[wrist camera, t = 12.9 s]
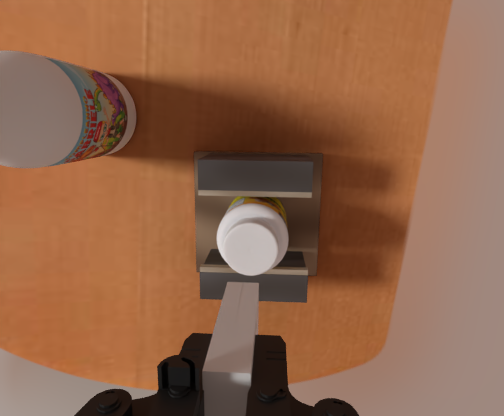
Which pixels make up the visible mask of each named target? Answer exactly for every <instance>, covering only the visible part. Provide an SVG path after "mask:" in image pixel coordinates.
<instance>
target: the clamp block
mask: <svg viewBox="0 0 504 416" xmlns="http://www.w3.org/2000/svg"><path fill="white" fill-rule="evenodd" d="M322 163H323V154H322V153H276V152H214V151H195V152H194V178H195V222H196V267H197V272H200V299H220V300H222V299H223V296H224V292H225V289H226V285H227V282H247V283H259V301H276V302H305V303H307V285H308V276H316V275H317V256H318V238H319V219H320V200H321V182H322ZM237 196H250V197H278V198H279V200H280V201H281V202H282V204H283V206H284V208H285V212H286V218H287V227H288V236H289V241H288V248H287V251H286V253H285V255H284V257H283V259H282V260H281V261H280V262H279V263H278V264H277V265H276V266H275V267H273V268H272V269H270V270H268V271H266V272H264V273H262V274H259V275H254V276H249V275H243V274H240V273H238V272H236V271H235V270H233V269H232V268H231V267H230V266H229V265H228V263H227V262H226V261H225V260H224V259H223V257H222V256H221V254H220V252H219V249H218V246H217V231H218V227H219V225H220V222H221V220H222V219H223V217H224V215H225V213H226V212H227V210H228V208H229V206H230V205H231V203H232V201H233V200H234V199H235V198H236V197H237Z"/></svg>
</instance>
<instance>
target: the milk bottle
mask: <svg viewBox="0 0 504 416" xmlns="http://www.w3.org/2000/svg"><path fill="white" fill-rule="evenodd" d="M135 126H136V108H135V104H134V101H133V99H132V97H131V95H130V93H129V92H128V90H127V89H126V88H125V86H124V85H123V84H122V83H121V82H119V81H118V80H117V79H115V78H114V77H112V76H110V75H108V74H105V73H103V72H99V71H96V70H93V69H89V68H86V67H82V66H79V65H75V64H72V63H68V62H64V61H61V60H57V59H53V58H49V57H46V56H41V55H37V54H32V53H27V52H21V51H0V165H3V166H8V167H14V168H39V167H47V166H54V165H60V164H65V163H70V162H76V161H80V160H85V159H90V158H95V157H100V156H104V155H108V154H111V153H114V152H116V151H118V150H120V149H121V148H123V147H124V146H125V145H126V144H127V143H128V141H129V140H130V139H131V137H132V135H133V133H134V130H135Z"/></svg>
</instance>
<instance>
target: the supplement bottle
mask: <svg viewBox="0 0 504 416" xmlns="http://www.w3.org/2000/svg"><path fill="white" fill-rule="evenodd" d="M288 241H289V236H288V227H287V218H286V212H285V208H284V206H283V204H282V202H281V201H280V200H279V198H278V197H250V196H237V197H236V198H235V199H234V200H233V201H232V203H231V205H230V206H229V208H228V210H227V212H226V213H225V215H224V217H223V219H222V220H221V222H220V225H219V227H218V231H217V246H218V249H219V252H220V254H221V256H222V257H223V259H224V260H225V261H226V262H227V263H228V265H229V266H230V267H231V268H232V269H233V270H235V271H236V272H238V273H240V274H243V275H249V276H254V275H259V274H262V273H264V272H266V271H268V270H270V269H272V268H273V267H275V266H276V265H277V264H278V263H279V262H280V261H281V260H282V259H283V257H284V255H285V253H286V251H287V248H288Z"/></svg>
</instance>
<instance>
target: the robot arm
mask: <svg viewBox="0 0 504 416" xmlns="http://www.w3.org/2000/svg"><path fill="white" fill-rule="evenodd" d="M258 304H259V283H247V282H227V285H226V289H225V292H224V296H223V299H222V303H221V307H220V310H219V314H218V317H217V321H216V324H215V328H214V331H213V334H203V333H193V334H191V335H190V336H189V337H188V338H187V339H186V340H185V341H184V344H183V346H182V350H181V351H180V354H179V355H174V356H171V357H168V358H166V359H164V360H163V361H161V362H160V364H159V365H158V366H157V368H158V387H159V389H158V392H157V393H156V394H155V395H152V396H149V397H145V398H140V399H135V400H132V397H131V395H130V394H129V393H128V392H127V391H125V390H123V389H110V390H106V391H103V392H101V393H99V394H97V395H96V396H94V397H93V398H92V399H90V400H89V401H88V403H86V404H85V406H83V407H82V408H81V409H80V411H79V412H77V413H76V415H74V416H359V415H358V414H357V412H356V410H355V409H354V408H353V407H352V406H351V405H350V404H348V403H346V402H345V401H342V400H339V399H335V398H331V399H330V398H327V399H323V400H320V401H319V402H318V403H316V404H315V406H314V407H313V406H309V405H306V404H304V403H301V402H300V401H298V400H296V399H295V398H294V397H293V396H292V395H291V393H290V392H289V389H288V379H287V361H286V343H285V342H284V341H283V339H282V338H281V336H274V335H258Z"/></svg>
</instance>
